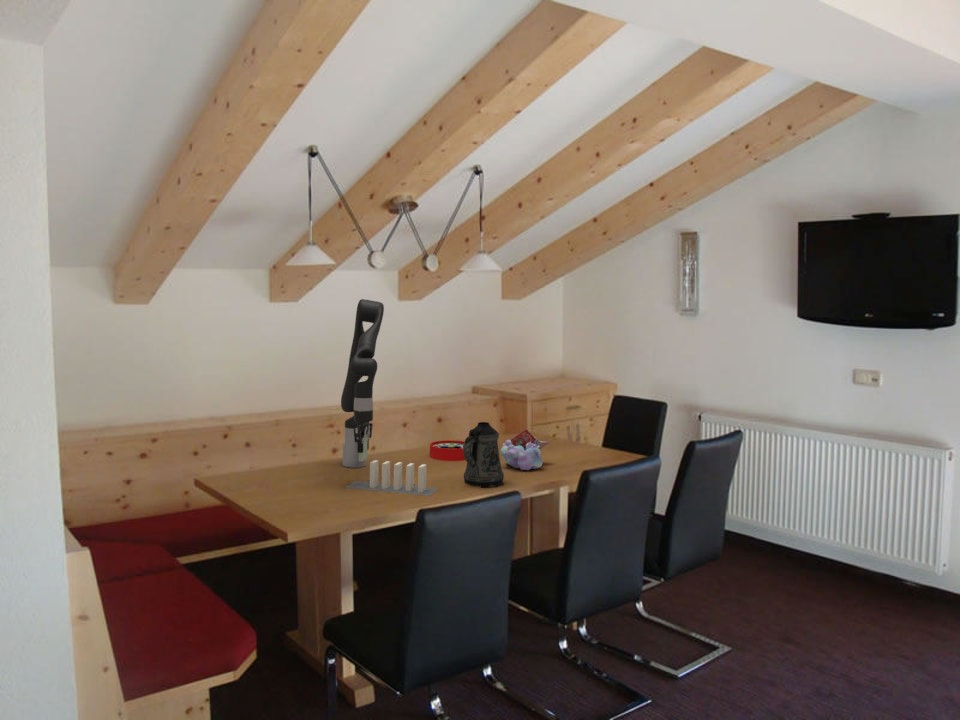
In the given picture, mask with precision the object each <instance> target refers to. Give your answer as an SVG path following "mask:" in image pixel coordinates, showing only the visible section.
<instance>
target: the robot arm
mask: <svg viewBox="0 0 960 720" xmlns="http://www.w3.org/2000/svg"><path fill="white" fill-rule="evenodd" d="M384 305H385V304H384V303H382V302H381V301H378V300H377V301H375V300H370V299H364V298H361V299H360V300H358V303H357V307H356V311H355V312H356V314H355V320H354V322H355V323H354V332H353V338H352V343H351V347H350V348H351V349H350V354H349V358H348V359H349V360H348V368H347V373H346V378H345V382H344V386H343V389H342V393H341V397H340V398H341V399H340V407H341V409H342V412H345V413H353V415H352V416H351V417H349V418H348V419H345V420H344V443H343V444H342V467H345V468H346V467H347V468H353V469H354V468H355V469H357V468H363V467H366V465H367V464H366V460H367V459H366V460H364V461H359V453H363V441H364V438H365V436H366V434H367V438H368V450H370V447H369V446H370V439H371V438H372V433H373V423H372V421H373V420H374V401H373V400H374V399H373V397H374V396H373V392H374V391H373V390H374V388H373V387H374V383H375V382H374V381H375V377H376V374H377V371H378V363H377V360H376V359H375V358H374V357H375V353H376V352H375V351H376V346H377V345H376V344H377V339H378V336H379V333H380V329H381V325H382V321H383V317H384V314H385V313H384V311H385V307H384ZM363 322H364V323H370V324H372V325H371V326H369V328H367V329H366V330H364V323H363ZM363 377H367V379H365V380H364V381H363V380H362V381H360V380H361V379H362V378H363ZM361 437H362V439H361Z"/></svg>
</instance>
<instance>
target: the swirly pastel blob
mask: <svg viewBox="0 0 960 720" xmlns="http://www.w3.org/2000/svg"><path fill="white" fill-rule="evenodd" d="M548 444H550V442H547V441H543V440H539V439H537V438H536V437H535V435H534V434H532V433H531V432H530V431H529V430H528V429H525V430H523V431H522V432H520V433H519V434H517V435H516V436H514V437H513V438H511V439H506V440H505V442H502V445H501V446H502V447H501V449H500V450H499V454H501V456H502V457H503V460H504V461H505V463H506V464H507V465H510V466H511V467H513V468H514V469H518V468H519V469H520V470H521V471H523V470H528V471H530V470H537V469H539V468H540V467H542V465H543V462H544V461H543V458H542V451H541V449H543V448H544V447H545V446H547V445H548Z"/></svg>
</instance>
